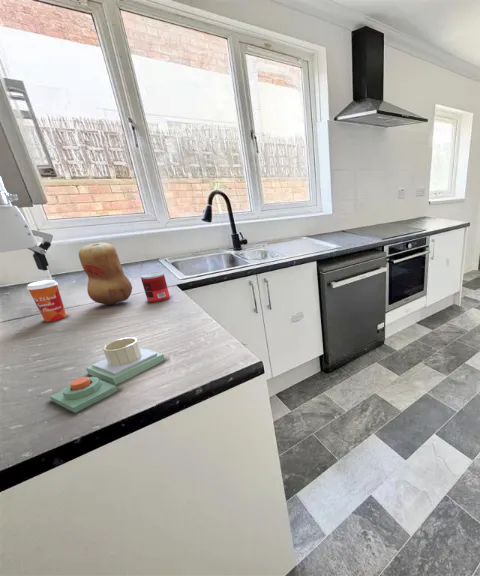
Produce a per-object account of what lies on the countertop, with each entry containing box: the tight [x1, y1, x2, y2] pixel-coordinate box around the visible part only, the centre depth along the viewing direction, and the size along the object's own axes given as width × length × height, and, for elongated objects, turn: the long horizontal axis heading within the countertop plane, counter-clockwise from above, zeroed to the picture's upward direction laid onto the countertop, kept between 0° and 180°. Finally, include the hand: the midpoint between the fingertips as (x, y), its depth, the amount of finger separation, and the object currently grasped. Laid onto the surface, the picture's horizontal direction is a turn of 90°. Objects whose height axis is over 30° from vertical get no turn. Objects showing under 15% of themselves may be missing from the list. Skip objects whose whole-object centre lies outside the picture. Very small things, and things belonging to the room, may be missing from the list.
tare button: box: [69, 376, 91, 391], centre depth 70 cm, size 3×3×2 cm
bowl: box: [102, 336, 141, 366], centre depth 81 cm, size 7×7×4 cm
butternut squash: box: [78, 242, 133, 306], centre depth 123 cm, size 14×13×25 cm
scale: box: [85, 346, 166, 386], centre depth 82 cm, size 12×12×3 cm
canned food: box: [140, 271, 170, 303], centre depth 129 cm, size 8×8×11 cm
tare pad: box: [49, 376, 118, 414], centre depth 71 cm, size 10×8×3 cm
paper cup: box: [26, 279, 67, 323], centre depth 111 cm, size 8×8×14 cm
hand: (15, 275), depth 73 cm, fingers open, 9 cm apart
